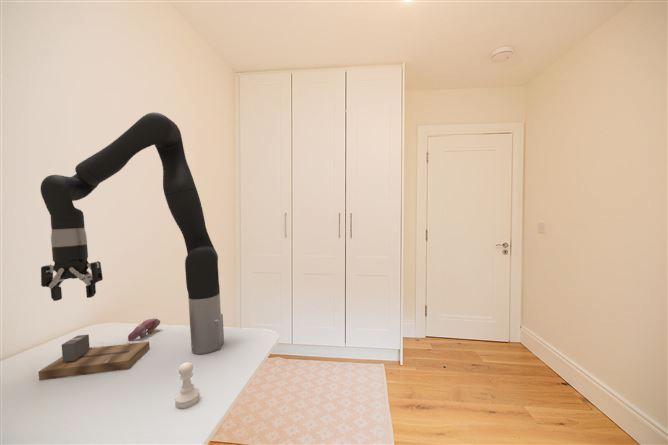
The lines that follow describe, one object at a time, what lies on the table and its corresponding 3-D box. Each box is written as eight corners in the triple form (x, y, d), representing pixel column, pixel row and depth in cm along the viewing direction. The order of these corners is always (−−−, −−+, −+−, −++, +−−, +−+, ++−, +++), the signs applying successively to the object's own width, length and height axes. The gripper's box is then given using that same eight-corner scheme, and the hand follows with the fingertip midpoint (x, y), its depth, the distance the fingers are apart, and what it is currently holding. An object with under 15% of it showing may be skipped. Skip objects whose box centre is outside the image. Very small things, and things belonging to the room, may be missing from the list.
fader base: (149, 348, 90) (149, 340, 90) (129, 369, 78) (128, 359, 78) (73, 357, 86) (72, 349, 86) (39, 380, 74) (38, 370, 74)
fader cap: (89, 350, 84) (88, 334, 84) (74, 360, 78) (73, 343, 78) (78, 351, 84) (77, 335, 83) (62, 361, 78) (61, 344, 77)
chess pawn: (194, 391, 66) (192, 355, 66) (203, 399, 63) (201, 361, 63) (171, 403, 63) (169, 364, 62) (180, 412, 59) (178, 372, 59)
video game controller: (135, 346, 96) (142, 328, 95) (125, 339, 97) (131, 322, 96) (158, 333, 106) (164, 318, 105) (148, 328, 106) (154, 312, 106)
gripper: (105, 241, 85) (109, 292, 86) (52, 244, 83) (56, 297, 83) (88, 243, 78) (92, 299, 78) (29, 247, 75) (34, 305, 76)
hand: (74, 298), depth 81 cm, fingers open, 8 cm apart
